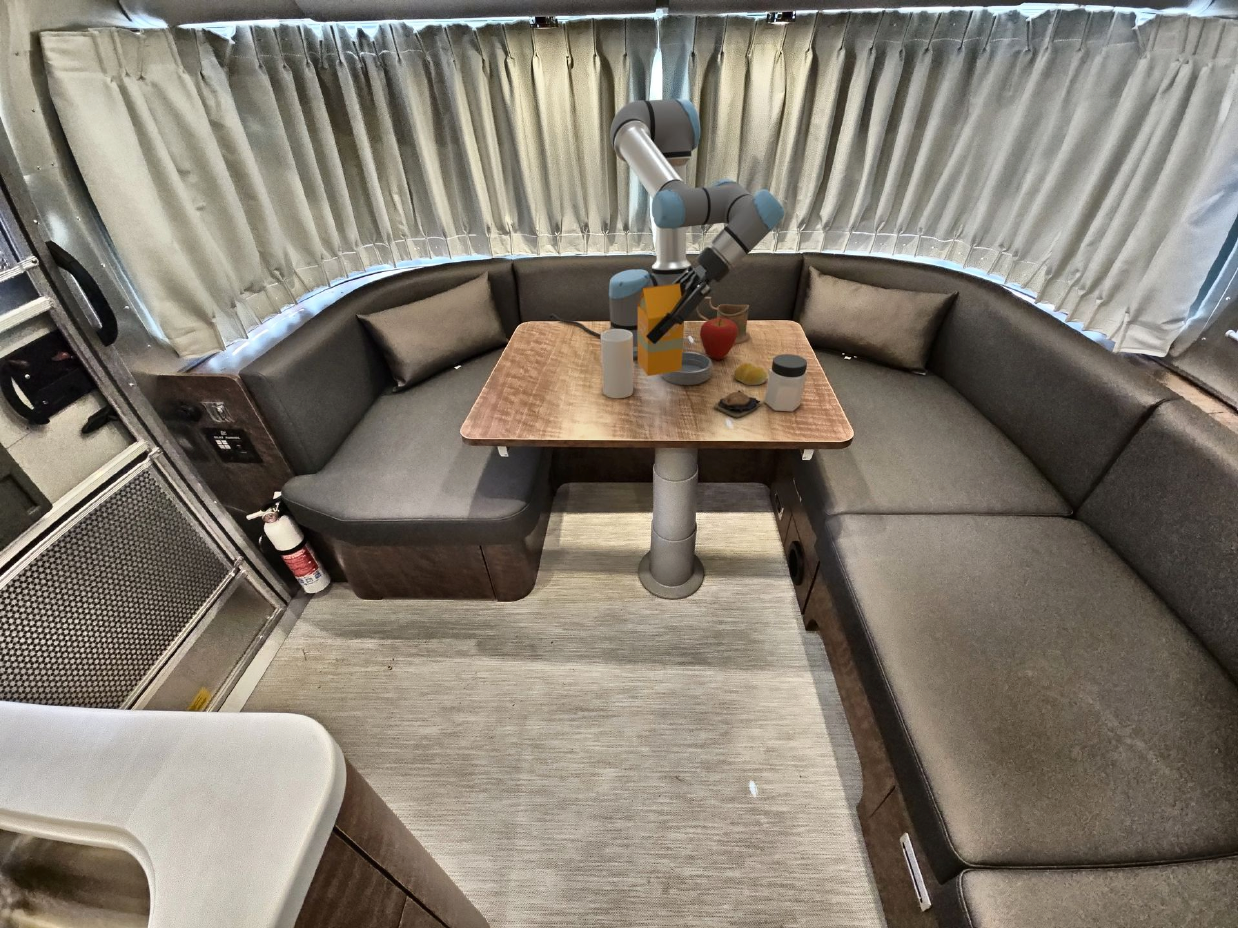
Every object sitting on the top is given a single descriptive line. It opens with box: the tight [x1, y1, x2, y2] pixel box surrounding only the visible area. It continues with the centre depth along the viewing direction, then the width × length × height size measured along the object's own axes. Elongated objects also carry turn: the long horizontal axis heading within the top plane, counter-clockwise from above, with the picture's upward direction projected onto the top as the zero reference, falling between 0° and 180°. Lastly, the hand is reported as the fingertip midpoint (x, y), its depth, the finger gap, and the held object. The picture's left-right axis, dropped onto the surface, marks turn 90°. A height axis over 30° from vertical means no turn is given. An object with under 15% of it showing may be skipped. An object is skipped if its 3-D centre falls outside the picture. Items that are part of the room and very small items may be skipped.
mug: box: [695, 296, 750, 345], centre depth 171 cm, size 12×18×12 cm, turn 67°
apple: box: [699, 317, 738, 361], centre depth 157 cm, size 11×11×12 cm
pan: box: [661, 351, 713, 386], centre depth 150 cm, size 14×14×4 cm
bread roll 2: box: [714, 390, 762, 419], centre depth 135 cm, size 11×8×4 cm
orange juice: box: [637, 283, 685, 377], centre depth 124 cm, size 8×9×20 cm
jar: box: [764, 353, 808, 412], centre depth 133 cm, size 9×8×12 cm
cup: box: [600, 329, 634, 399], centre depth 140 cm, size 8×8×16 cm
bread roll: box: [732, 362, 767, 386], centre depth 147 cm, size 8×9×4 cm
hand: (647, 332), depth 124 cm, fingers closed on orange juice, 8 cm apart
